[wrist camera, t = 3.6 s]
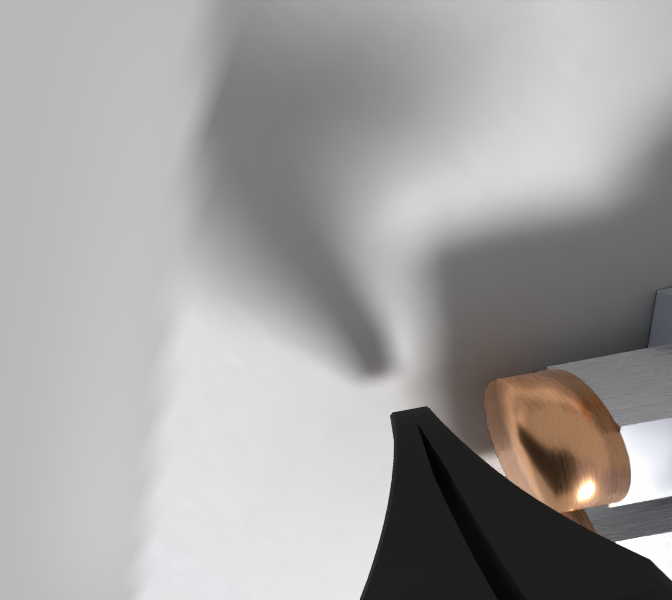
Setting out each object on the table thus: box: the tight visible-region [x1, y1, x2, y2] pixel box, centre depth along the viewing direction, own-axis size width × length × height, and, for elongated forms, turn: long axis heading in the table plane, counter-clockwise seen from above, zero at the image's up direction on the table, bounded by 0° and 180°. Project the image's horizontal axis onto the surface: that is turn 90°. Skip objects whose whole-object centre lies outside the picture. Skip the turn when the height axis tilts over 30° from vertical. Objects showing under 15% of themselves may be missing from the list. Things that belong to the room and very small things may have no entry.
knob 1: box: [484, 344, 672, 513], centre depth 11 cm, size 4×8×4 cm, turn 100°
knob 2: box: [504, 476, 672, 580], centre depth 12 cm, size 4×8×4 cm, turn 100°
